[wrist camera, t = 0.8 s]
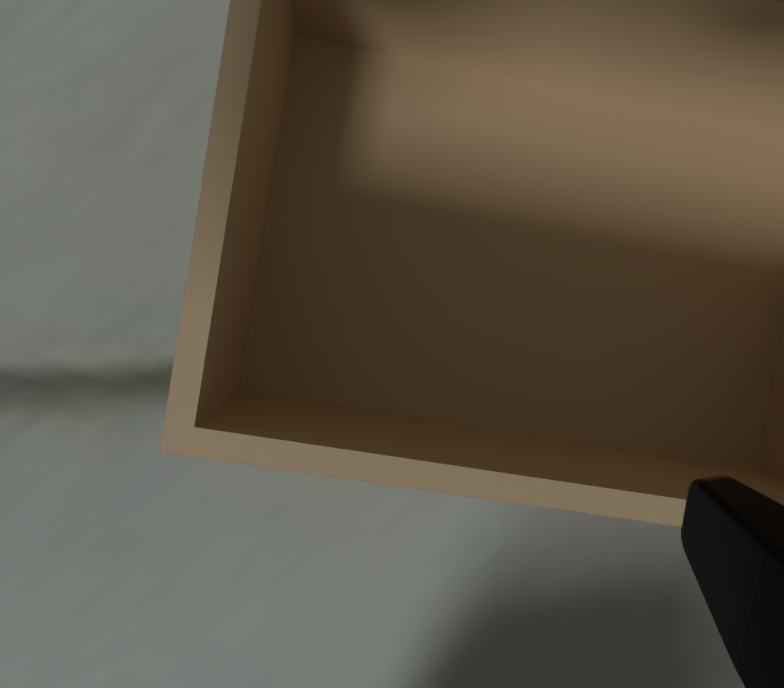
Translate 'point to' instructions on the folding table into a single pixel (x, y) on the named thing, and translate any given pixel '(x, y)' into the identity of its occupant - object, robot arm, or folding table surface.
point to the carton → (493, 250)
